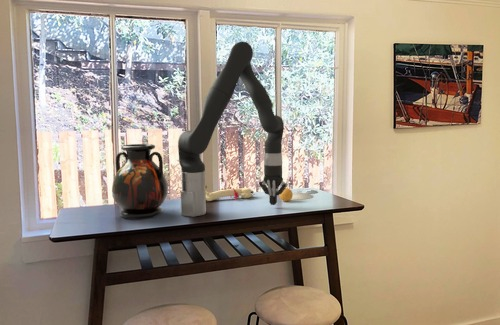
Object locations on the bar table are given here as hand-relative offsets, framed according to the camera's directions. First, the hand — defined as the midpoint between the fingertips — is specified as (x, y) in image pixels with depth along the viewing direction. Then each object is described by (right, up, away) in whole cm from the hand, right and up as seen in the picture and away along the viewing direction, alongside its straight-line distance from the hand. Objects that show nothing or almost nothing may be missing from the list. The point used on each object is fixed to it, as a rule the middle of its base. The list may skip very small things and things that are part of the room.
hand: (273, 204), depth 180 cm
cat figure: (-20, 0, +19) cm, 27 cm away
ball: (+6, +3, +13) cm, 15 cm away
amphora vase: (-53, -4, -9) cm, 54 cm away
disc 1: (+13, +2, +24) cm, 27 cm away
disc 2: (+19, +3, +34) cm, 39 cm away
